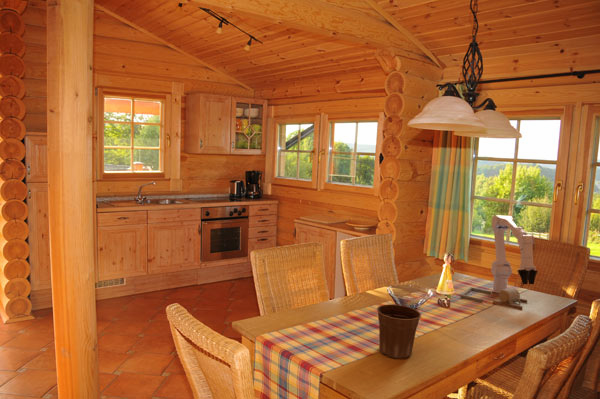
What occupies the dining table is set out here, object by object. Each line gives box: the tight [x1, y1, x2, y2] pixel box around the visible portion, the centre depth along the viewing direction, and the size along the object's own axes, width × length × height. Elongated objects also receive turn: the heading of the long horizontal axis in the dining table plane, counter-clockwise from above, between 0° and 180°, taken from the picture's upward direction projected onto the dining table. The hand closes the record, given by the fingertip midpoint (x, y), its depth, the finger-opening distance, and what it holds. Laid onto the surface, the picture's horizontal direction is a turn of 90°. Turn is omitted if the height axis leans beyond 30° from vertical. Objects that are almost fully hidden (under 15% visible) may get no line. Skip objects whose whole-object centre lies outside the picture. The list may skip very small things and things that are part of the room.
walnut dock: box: [492, 298, 528, 310], centre depth 237 cm, size 15×14×2 cm
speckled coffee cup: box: [498, 287, 522, 306], centre depth 236 cm, size 11×8×8 cm
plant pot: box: [376, 303, 422, 360], centre depth 170 cm, size 16×16×16 cm
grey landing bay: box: [460, 286, 493, 303], centre depth 247 cm, size 20×12×2 cm, turn 144°
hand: (528, 284), depth 230 cm, fingers open, 7 cm apart
